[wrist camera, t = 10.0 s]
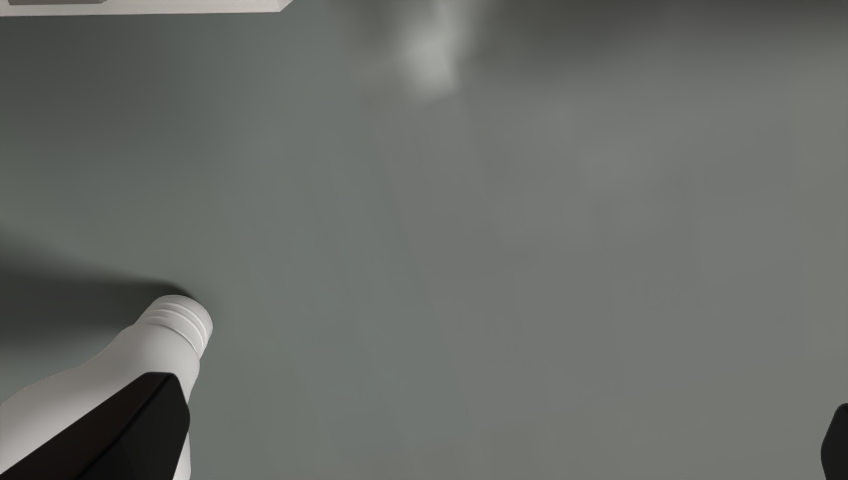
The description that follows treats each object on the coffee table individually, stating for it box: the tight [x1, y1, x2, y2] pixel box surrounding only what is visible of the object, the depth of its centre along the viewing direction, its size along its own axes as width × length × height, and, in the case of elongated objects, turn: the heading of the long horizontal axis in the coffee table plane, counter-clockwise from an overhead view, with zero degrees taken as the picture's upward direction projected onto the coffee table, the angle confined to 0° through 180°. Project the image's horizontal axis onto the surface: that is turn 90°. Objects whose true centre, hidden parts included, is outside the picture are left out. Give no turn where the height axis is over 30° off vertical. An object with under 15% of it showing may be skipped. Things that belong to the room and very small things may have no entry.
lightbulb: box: [0, 295, 213, 480], centre depth 22 cm, size 6×6×11 cm
